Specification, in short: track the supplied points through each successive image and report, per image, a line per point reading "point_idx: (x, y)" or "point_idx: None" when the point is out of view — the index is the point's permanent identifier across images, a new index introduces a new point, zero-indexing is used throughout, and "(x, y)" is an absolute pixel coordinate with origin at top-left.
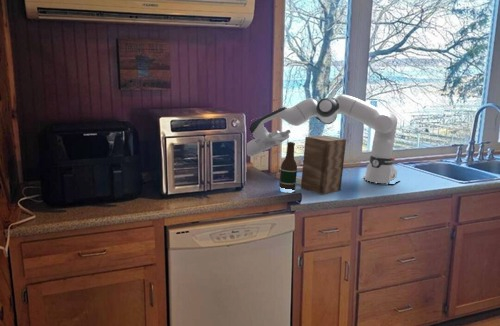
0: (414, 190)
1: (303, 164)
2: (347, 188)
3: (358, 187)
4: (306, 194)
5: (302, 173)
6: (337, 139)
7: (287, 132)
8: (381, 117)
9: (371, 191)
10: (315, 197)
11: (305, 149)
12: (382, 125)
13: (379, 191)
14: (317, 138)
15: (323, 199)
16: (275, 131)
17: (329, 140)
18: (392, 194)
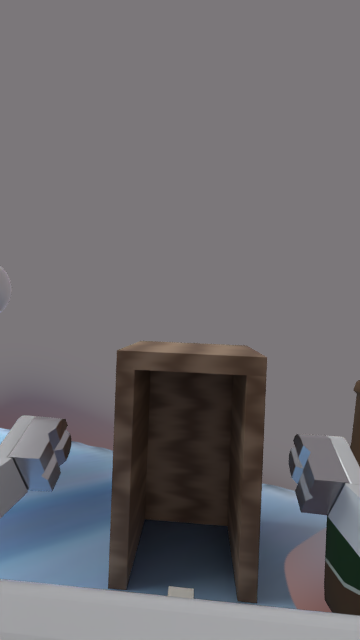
0: (7, 434)
1: (261, 485)
2: (94, 505)
3: (54, 494)
4: (295, 544)
5: (259, 528)
6: (179, 343)
7: (58, 459)
8: (2, 270)
9: (84, 468)
10: (286, 515)
11: (263, 413)
12: (10, 294)
13: (69, 460)
14: (239, 350)
15: (276, 498)
16: (353, 460)
17: (230, 345)
18: (81, 445)
